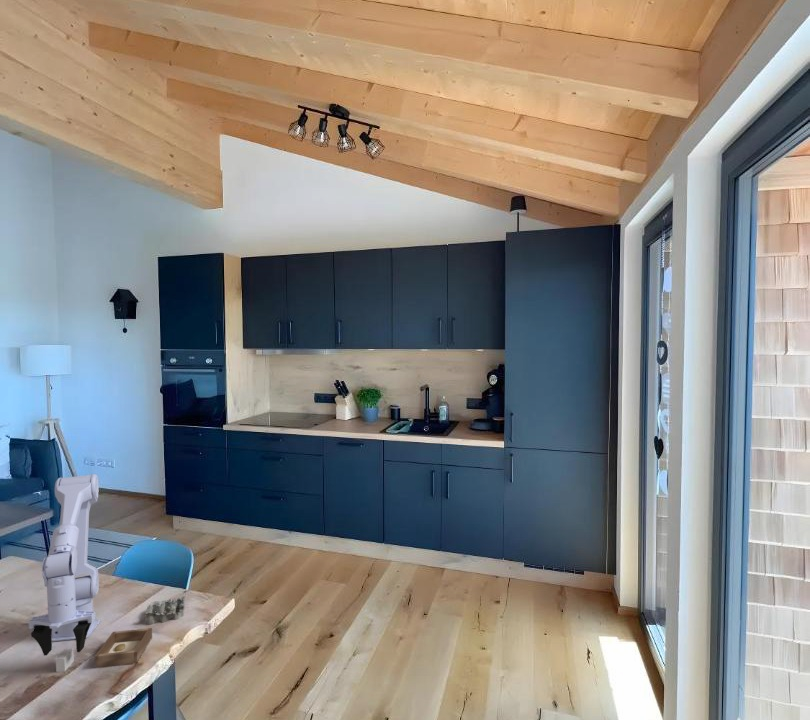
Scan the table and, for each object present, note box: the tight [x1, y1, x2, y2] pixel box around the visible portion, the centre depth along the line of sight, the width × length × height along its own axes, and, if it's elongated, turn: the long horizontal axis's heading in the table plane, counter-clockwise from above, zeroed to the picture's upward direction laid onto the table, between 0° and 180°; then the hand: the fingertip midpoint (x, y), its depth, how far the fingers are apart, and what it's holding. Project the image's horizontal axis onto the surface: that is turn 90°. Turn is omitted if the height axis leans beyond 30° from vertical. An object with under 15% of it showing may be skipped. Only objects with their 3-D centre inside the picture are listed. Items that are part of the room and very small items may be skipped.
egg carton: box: [144, 595, 186, 626], centre depth 140 cm, size 11×8×4 cm
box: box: [94, 627, 153, 669], centre depth 124 cm, size 10×10×3 cm
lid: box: [55, 647, 75, 673], centre depth 119 cm, size 11×11×4 cm
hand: (64, 651), depth 119 cm, fingers open, 7 cm apart
